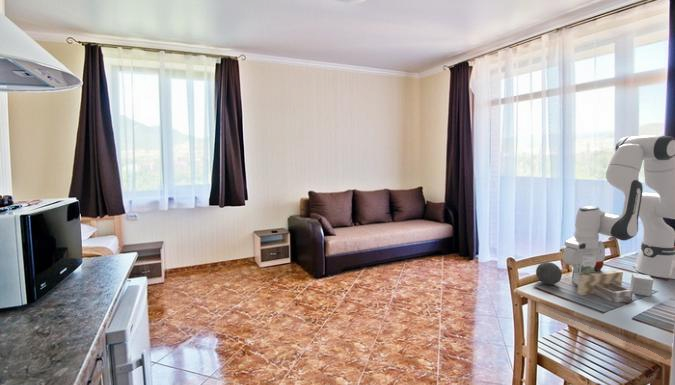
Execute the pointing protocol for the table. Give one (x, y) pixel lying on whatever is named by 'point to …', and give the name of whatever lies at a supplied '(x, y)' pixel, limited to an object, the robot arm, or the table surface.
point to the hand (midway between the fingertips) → (583, 271)
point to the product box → (641, 284)
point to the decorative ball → (548, 273)
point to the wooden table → (605, 286)
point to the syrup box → (584, 268)
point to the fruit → (599, 265)
